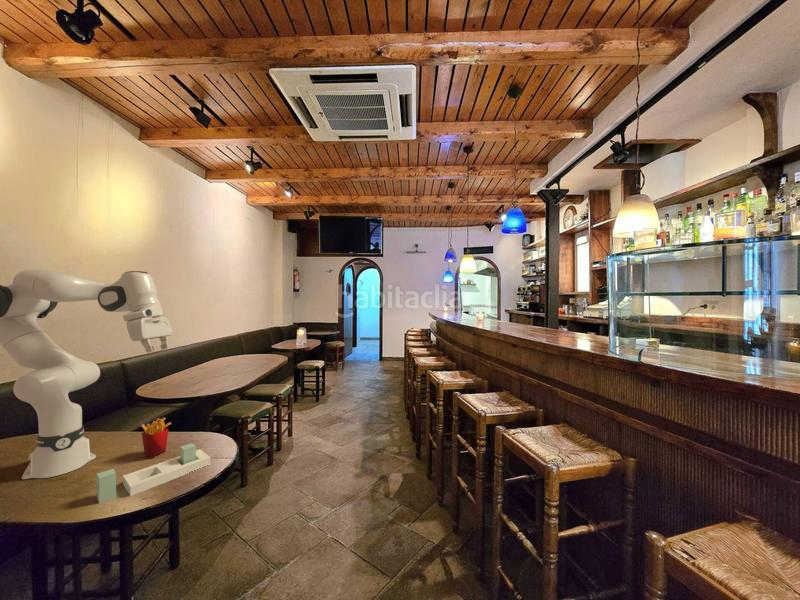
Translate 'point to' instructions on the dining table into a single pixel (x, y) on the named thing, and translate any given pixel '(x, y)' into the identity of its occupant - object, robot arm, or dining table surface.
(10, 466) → the dining table surface
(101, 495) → the block
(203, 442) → the dining table surface
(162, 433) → the french fries
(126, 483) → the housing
